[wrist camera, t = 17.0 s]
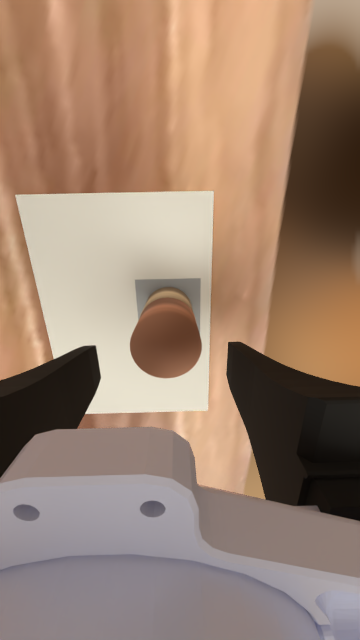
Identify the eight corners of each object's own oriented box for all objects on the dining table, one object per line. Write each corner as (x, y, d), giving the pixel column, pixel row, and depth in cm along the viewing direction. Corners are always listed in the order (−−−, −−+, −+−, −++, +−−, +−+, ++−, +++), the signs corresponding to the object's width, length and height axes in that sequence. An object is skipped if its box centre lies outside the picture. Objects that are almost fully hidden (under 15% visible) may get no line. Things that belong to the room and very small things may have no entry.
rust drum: (127, 323, 17) (114, 345, 13) (169, 285, 16) (167, 297, 12) (166, 360, 18) (164, 390, 14) (207, 326, 17) (216, 349, 14)
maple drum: (137, 297, 21) (129, 309, 17) (181, 279, 20) (183, 287, 16) (156, 337, 22) (152, 356, 18) (198, 321, 21) (203, 338, 18)
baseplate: (21, 196, 18) (14, 194, 18) (212, 192, 19) (213, 190, 18) (70, 409, 26) (66, 414, 25) (207, 405, 26) (207, 410, 25)
